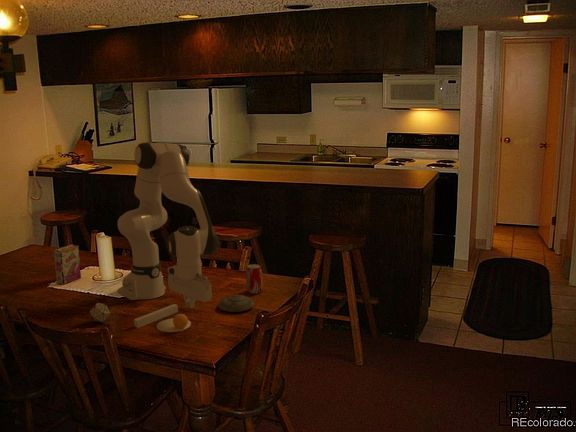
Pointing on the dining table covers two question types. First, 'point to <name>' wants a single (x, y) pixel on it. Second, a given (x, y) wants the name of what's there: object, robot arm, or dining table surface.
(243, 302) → the flying saucer
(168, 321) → the disc
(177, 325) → the ball
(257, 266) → the soda can
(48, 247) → the dining table surface
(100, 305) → the game die
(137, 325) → the bar
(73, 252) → the candy bar box
